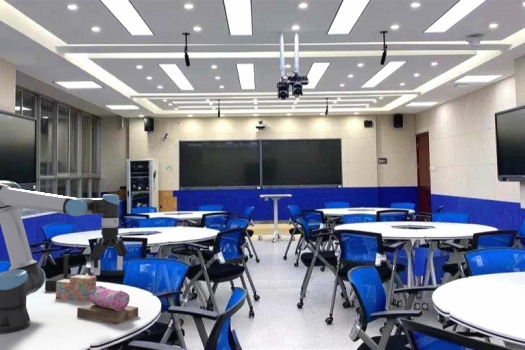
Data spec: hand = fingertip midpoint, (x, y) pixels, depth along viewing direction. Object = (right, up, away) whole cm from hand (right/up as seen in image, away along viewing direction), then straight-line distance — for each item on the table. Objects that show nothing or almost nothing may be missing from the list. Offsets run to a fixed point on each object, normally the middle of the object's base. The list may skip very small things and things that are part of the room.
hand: (108, 272), depth 184 cm
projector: (-47, -23, +54) cm, 75 cm away
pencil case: (0, -17, -1) cm, 17 cm away
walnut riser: (0, -20, -1) cm, 20 cm away
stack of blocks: (-30, -22, +29) cm, 47 cm away
